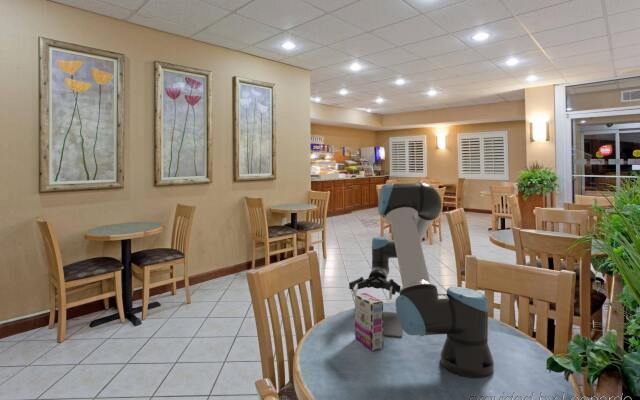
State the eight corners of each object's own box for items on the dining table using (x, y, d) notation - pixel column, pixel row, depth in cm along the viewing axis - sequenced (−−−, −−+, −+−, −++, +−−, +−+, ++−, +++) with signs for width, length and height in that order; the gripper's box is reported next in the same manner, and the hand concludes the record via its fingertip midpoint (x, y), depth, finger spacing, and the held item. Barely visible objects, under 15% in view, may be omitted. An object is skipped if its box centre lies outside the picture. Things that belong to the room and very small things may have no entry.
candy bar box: (384, 348, 122) (383, 301, 121) (371, 352, 120) (371, 304, 119) (366, 335, 132) (366, 292, 131) (354, 338, 130) (354, 294, 129)
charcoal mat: (404, 314, 151) (404, 313, 151) (402, 337, 130) (402, 336, 130) (363, 311, 156) (363, 310, 156) (355, 333, 135) (355, 331, 135)
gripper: (407, 288, 153) (406, 306, 133) (349, 284, 160) (339, 301, 140) (407, 270, 153) (406, 286, 132) (349, 267, 159) (339, 282, 139)
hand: (372, 294), depth 136 cm, fingers open, 13 cm apart
